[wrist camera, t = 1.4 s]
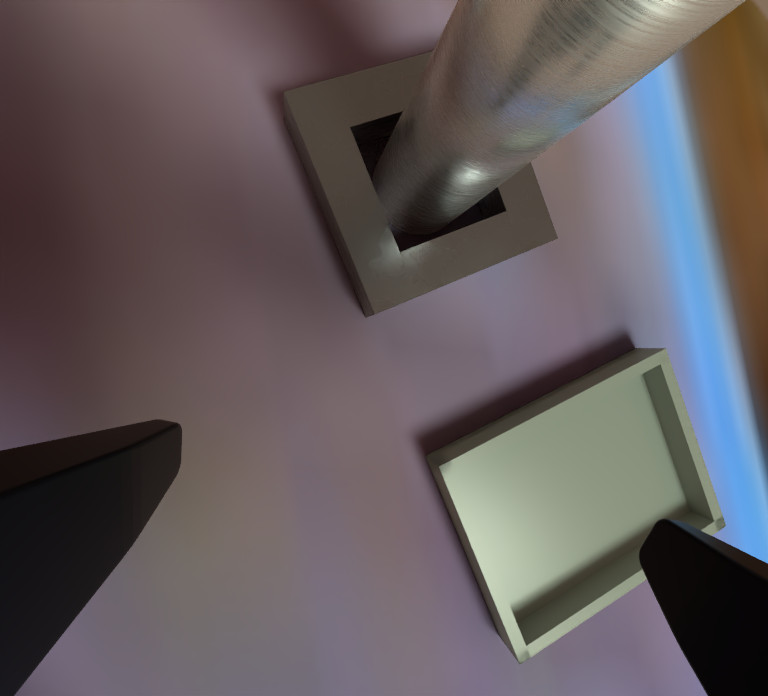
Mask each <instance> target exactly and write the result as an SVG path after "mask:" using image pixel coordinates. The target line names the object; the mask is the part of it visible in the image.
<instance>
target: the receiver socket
mask: <svg viewBox="0 0 768 696" xmlns="http://www.w3.org/2000/svg"><path fill="white" fill-rule="evenodd" d="M432 52H433V51H431V52H427V53H424V54H420V55H416V56H413V57H409V58H405V59H402V60H398V61H394V62H391V63H387V64H383V65H380V66H376V67H372V68H369V69H365V70H361V71H358V72H354V73H350V74H347V75H343V76H339V77H336V78H332V79H328V80H324V81H321V82H317V83H313V84H310V85H306V86H302V87H299V88H295V89H291V90H288V91H284V121H285V123H286V125H287V128H288V130H289V133H290V135H291V138H292V140H293V142H294V145H295V147H296V150H297V152H298V154H299V157H300V159H301V162H302V164H303V167H304V169H305V171H306V174H307V176H308V179H309V181H310V183H311V186H312V188H313V191H314V193H315V196H316V198H317V200H318V203H319V205H320V208H321V210H322V213H323V215H324V217H325V220H326V222H327V225H328V227H329V229H330V232H331V234H332V237H333V239H334V242H335V244H336V246H337V249H338V251H339V254H340V256H341V258H342V261H343V263H344V266H345V268H346V271H347V273H348V275H349V278H350V280H351V283H352V285H353V288H354V290H355V292H356V295H357V297H358V300H359V302H360V304H361V307H362V309H363V312H364V314H365V317H368V316H371V315H374V314H377V313H379V312H381V311H384V310H386V309H389V308H391V307H394V306H396V305H398V304H401V303H403V302H406V301H408V300H410V299H413V298H415V297H418V296H420V295H422V294H425V293H427V292H430V291H432V290H434V289H437V288H439V287H442V286H444V285H447V284H449V283H451V282H454V281H456V280H459V279H461V278H463V277H466V276H468V275H471V274H473V273H475V272H478V271H480V270H483V269H485V268H488V267H490V266H492V265H495V264H497V263H500V262H502V261H504V260H507V259H509V258H512V257H514V256H516V255H519V254H521V253H524V252H526V251H529V250H531V249H533V248H536V247H538V246H541V245H543V244H545V243H548V242H550V241H553V240H555V239H557V238H558V237H557V235H556V232H555V229H554V226H553V223H552V221H551V218H550V215H549V212H548V210H547V207H546V204H545V201H544V198H543V196H542V193H541V190H540V187H539V184H538V182H537V179H536V176H535V173H534V170H533V168H532V165H531V162H530V163H529V164H527V165H526V166H525V167H523V168H522V169H521V170H519V171H518V172H517V173H515V174H514V175H513V176H511V177H510V178H509V179H507V180H506V181H505V182H503V183H502V184H501V185H499V186H498V187H497V188H495V189H494V190H493V191H491V192H490V193H489V194H487V195H486V196H485V197H483V198H482V199H481V200H479V201H478V205H479V208H480V210H481V213H482V216H483V218H484V220H482V221H479V222H477V223H474V224H472V225H469V226H466V227H464V228H461V229H459V230H456V231H453V232H451V233H448V234H446V235H443V236H440V237H438V238H435V239H433V240H430V241H427V242H425V243H422V244H420V245H417V246H414V247H412V248H409V249H407V250H404V251H401V252H399V249H398V247H397V244H396V242H395V239H394V237H393V234H392V232H391V229H390V227H389V224H388V222H387V219H386V216H385V214H384V211H383V209H382V206H381V204H380V201H379V199H378V196H377V194H376V191H375V189H374V186H373V184H372V181H371V179H370V176H369V174H368V171H367V169H366V166H365V164H364V161H363V159H362V156H361V154H360V151H359V149H358V145H361V144H364V143H367V142H370V141H374V140H377V139H380V138H383V137H386V136H389V135H392V133H393V131H394V129H395V127H396V125H397V123H398V121H399V119H400V117H401V115H402V112H403V110H404V108H405V106H406V104H407V102H408V100H409V98H410V96H411V94H412V92H413V90H414V88H415V86H416V84H417V82H418V80H419V78H420V76H421V74H422V72H423V70H424V68H425V66H426V64H427V62H428V60H429V58H430V56H431V54H432Z"/></svg>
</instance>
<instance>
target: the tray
mask: <svg viewBox="0 0 768 696" xmlns="http://www.w3.org/2000/svg"><path fill="white" fill-rule="evenodd" d="M426 459H427V461H428V464H429V466H430V469H431V471H432V473H433V476H434V478H435V481H436V483H437V485H438V488H439V490H440V493H441V495H442V498H443V500H444V502H445V505H446V507H447V510H448V512H449V515H450V517H451V519H452V522H453V524H454V527H455V529H456V532H457V534H458V536H459V539H460V541H461V544H462V546H463V548H464V551H465V553H466V556H467V558H468V561H469V563H470V565H471V568H472V570H473V573H474V575H475V578H476V580H477V582H478V585H479V587H480V590H481V592H482V595H483V597H484V599H485V602H486V604H487V607H488V609H489V611H490V614H491V616H492V619H493V621H494V624H495V626H496V628H497V631H498V633H499V636H500V638H501V639H502V640H503V642H504V643H505V645H506V646H507V647H508V649H509V650H510V651H511V653H512V654H513V656H514V657H515V658H516V660H517V661H518V662H519V664H521V663H523V662H524V661H526V660H527V659H529V658H530V657H532V656H533V655H535V654H536V653H538V652H539V651H541V650H542V649H544V648H545V647H547V646H548V645H550V644H551V643H553V642H554V641H556V640H557V639H559V638H560V637H562V636H563V635H565V634H566V633H567V632H569V631H570V630H572V629H573V628H575V627H576V626H578V625H579V624H581V623H582V622H584V621H585V620H587V619H588V618H590V617H591V616H593V615H594V614H596V613H597V612H599V611H600V610H602V609H603V608H605V607H606V606H608V605H609V604H611V603H612V602H614V601H615V600H617V599H618V598H620V597H621V596H623V595H624V594H625V593H627V592H628V591H630V590H631V589H633V588H634V587H636V586H637V585H639V584H640V583H642V582H643V581H645V580H646V579H647V578H646V576H645V574H644V572H643V570H642V567H641V565H640V562H639V550H640V547H641V545H642V544H643V542H644V541H645V539H646V537H647V536H648V534H649V532H650V531H651V529H652V527H653V526H654V524H655V523H656V522H657V521H658V520H659V519H662V518H666V519H671V520H677V521H681V522H684V523H687V524H689V525H691V526H693V527H695V528H697V529H699V530H701V531H703V532H705V533H707V534H709V535H711V536H712V535H713V534H715V533H716V532H718V531H719V530H721V529H722V528H724V527H725V526H726V524H725V522H724V519H723V516H722V513H721V510H720V507H719V504H718V501H717V498H716V495H715V492H714V489H713V486H712V483H711V480H710V477H709V474H708V472H707V469H706V466H705V463H704V460H703V457H702V454H701V451H700V448H699V445H698V442H697V439H696V436H695V433H694V430H693V427H692V424H691V421H690V419H689V416H688V413H687V410H686V407H685V404H684V401H683V398H682V395H681V392H680V389H679V386H678V383H677V380H676V377H675V374H674V371H673V368H672V366H671V363H670V360H669V357H668V354H667V351H666V348H636V349H634V350H632V351H630V352H628V353H626V354H624V355H622V356H620V357H618V358H616V359H614V360H612V361H610V362H608V363H606V364H604V365H602V366H600V367H598V368H596V369H594V370H592V371H591V372H589V373H587V374H585V375H583V376H581V377H579V378H577V379H575V380H573V381H571V382H569V383H567V384H565V385H563V386H561V387H559V388H557V389H555V390H553V391H551V392H549V393H547V394H546V395H544V396H542V397H540V398H538V399H536V400H534V401H532V402H530V403H528V404H526V405H524V406H522V407H520V408H518V409H516V410H514V411H512V412H510V413H508V414H506V415H504V416H502V417H501V418H499V419H497V420H495V421H493V422H491V423H489V424H487V425H485V426H483V427H481V428H479V429H477V430H475V431H473V432H471V433H469V434H467V435H465V436H463V437H461V438H459V439H457V440H456V441H454V442H452V443H450V444H448V445H446V446H444V447H442V448H440V449H438V450H436V451H434V452H432V453H430V454H428V455H426Z"/></svg>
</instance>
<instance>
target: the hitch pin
mask: <svg viewBox="0 0 768 696" xmlns="http://www.w3.org/2000/svg"><path fill="white" fill-rule="evenodd" d="M744 1H745V0H458V2H457V4H456V6H455V8H454V10H453V12H452V14H451V16H450V18H449V20H448V22H447V24H446V26H445V28H444V30H443V32H442V34H441V36H440V38H439V40H438V42H437V44H436V46H435V48H434V50H433V52H432V54H431V56H430V58H429V60H428V62H427V64H426V66H425V68H424V70H423V72H422V74H421V76H420V78H419V80H418V82H417V84H416V86H415V88H414V90H413V92H412V94H411V96H410V98H409V100H408V102H407V104H406V106H405V108H404V110H403V112H402V115H401V117H400V119H399V121H398V123H397V125H396V127H395V129H394V131H393V133H392V135H391V137H390V139H389V141H388V143H387V145H386V147H385V149H384V151H383V153H382V155H381V157H380V159H379V161H378V163H377V165H376V167H375V170H374V173H373V178H372V184H373V186H374V189H375V191H376V194H377V196H378V199H379V201H380V204H381V206H382V209H383V211H384V214H385V216H386V219H387V221H388V222H389V223H390V224H391V225H393V226H394V227H395V228H397V229H399V230H401V231H403V232H405V233H409V234H413V235H427V234H431V233H434V232H437V231H439V230H440V229H442V228H443V227H445V226H446V225H448V224H449V223H450V222H452V221H453V220H454V219H456V218H457V217H458V216H460V215H461V214H462V213H464V212H465V211H466V210H468V209H469V208H470V207H471V206H473V205H474V204H475V203H477V202H478V201H479V200H481V199H482V198H483V197H485V196H486V195H487V194H489V193H490V192H491V191H493V190H494V189H495V188H497V187H498V186H499V185H501V184H502V183H503V182H505V181H506V180H507V179H509V178H510V177H511V176H513V175H514V174H515V173H517V172H518V171H519V170H521V169H522V168H523V167H525V166H526V165H527V164H529V163H530V162H531V161H533V160H534V159H535V158H537V157H538V156H539V155H541V154H542V153H543V152H545V151H546V150H547V149H549V148H550V147H551V146H553V145H554V144H555V143H557V142H558V141H559V140H561V139H562V138H563V137H565V136H566V135H567V134H569V133H570V132H571V131H573V130H574V129H575V128H577V127H578V126H579V125H581V124H582V123H583V122H585V121H586V120H587V119H589V118H590V117H591V116H593V115H594V114H595V113H597V112H598V111H599V110H601V109H602V108H603V107H604V106H606V105H607V104H608V103H610V102H611V101H612V100H614V99H615V98H616V97H618V96H619V95H620V94H622V93H623V92H624V91H626V90H627V89H628V88H630V87H631V86H632V85H634V84H635V83H636V82H638V81H639V80H640V79H642V78H643V77H644V76H646V75H647V74H648V73H650V72H651V71H652V70H654V69H655V68H656V67H658V66H659V65H660V64H662V63H663V62H664V61H666V60H667V59H668V58H670V57H671V56H672V55H674V54H675V53H676V52H678V51H679V50H680V49H682V48H683V47H684V46H686V45H687V44H688V43H690V42H691V41H692V40H694V39H695V38H696V37H698V36H699V35H700V34H702V33H703V32H704V31H706V30H707V29H708V28H710V27H711V26H712V25H714V24H715V23H716V22H718V21H719V20H720V19H722V18H723V17H724V16H726V15H727V14H728V13H730V12H731V11H732V10H734V9H735V8H736V7H738V6H739V5H740V4H741V3H743V2H744Z"/></svg>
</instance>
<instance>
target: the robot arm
mask: <svg viewBox="0 0 768 696" xmlns="http://www.w3.org/2000/svg"><path fill="white" fill-rule="evenodd" d="M181 448H182V428H181V426H180V424H178V423H175V422H170V421H165V420H151V421H146V422H141V423H136V424H131V425H126V426H121V427H116V428H111V429H106V430H101V431H96V432H91V433H86V434H81V435H76V436H71V437H67V438H62V439H57V440H52V441H47V442H42V443H37V444H32V445H27V446H22V447H17V448H12V449H7V450H2V451H0V696H14V695H15V694H16V693H17V691H18V690H19V689H20V688H21V686H22V685H23V684H24V682H25V681H26V680H27V679H28V677H29V676H30V675H31V674H32V672H33V671H34V670H35V669H36V667H37V666H38V665H39V663H40V662H41V661H42V660H43V658H44V657H45V656H46V655H47V653H48V652H49V651H50V650H51V648H52V647H53V646H54V644H55V643H56V642H57V641H58V639H59V638H60V637H61V636H62V634H63V633H64V632H65V631H66V629H67V628H68V627H69V626H70V624H71V623H72V622H73V620H74V619H75V618H76V617H77V615H78V614H79V613H80V612H81V610H82V609H83V608H84V607H85V605H86V604H87V603H88V601H89V600H90V599H91V598H92V596H93V595H94V594H95V593H96V591H97V590H98V589H99V588H100V586H101V585H102V584H103V582H104V581H105V580H106V579H107V577H108V576H109V575H110V574H111V572H112V571H113V570H114V569H115V567H116V566H117V565H118V564H119V562H120V561H121V560H122V558H123V557H124V556H125V555H126V553H127V552H128V551H129V549H130V548H131V547H132V545H133V544H134V542H135V541H136V539H137V538H138V536H139V535H140V533H141V532H142V530H143V529H144V527H145V525H146V524H147V522H148V521H149V519H150V517H151V516H152V514H153V513H154V511H155V509H156V508H157V506H158V505H159V503H160V501H161V500H162V498H163V497H164V495H165V493H166V492H167V490H168V489H169V487H170V485H171V484H172V482H173V481H174V479H175V477H176V475H177V473H178V471H179V468H180V464H181ZM639 562H640V565H641V567H642V570H643V572H644V574H645V576H646V578H647V580H648V582H649V584H650V586H651V588H652V591H653V593H654V595H655V597H656V599H657V601H658V603H659V605H660V607H661V610H662V612H663V614H664V616H665V618H666V620H667V622H668V624H669V626H670V628H671V630H672V632H673V634H674V636H675V638H676V640H677V642H678V644H679V646H680V648H681V650H682V651H683V653H684V655H685V657H686V659H687V660H688V662H689V664H690V666H691V667H692V669H693V671H694V673H695V674H696V676H697V678H698V679H699V681H700V683H701V685H702V686H703V688H704V690H705V692H706V693H707V695H708V696H768V564H767V563H765V562H763V561H761V560H759V559H757V558H755V557H753V556H751V555H749V554H747V553H745V552H743V551H741V550H739V549H737V548H735V547H733V546H731V545H729V544H727V543H725V542H723V541H721V540H719V539H717V538H715V537H713V536H711V535H709V534H707V533H705V532H703V531H701V530H699V529H697V528H695V527H693V526H691V525H689V524H687V523H684V522H681V521H677V520H671V519H666V518H662V519H659V520H658V521H657V522H656V523H655V524H654V526H653V527H652V529H651V531H650V532H649V534H648V536H647V537H646V539H645V541H644V542H643V544H642V545H641V547H640V550H639Z"/></svg>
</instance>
